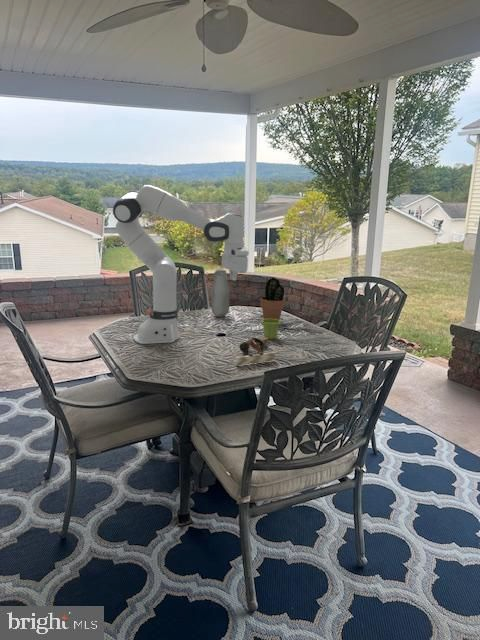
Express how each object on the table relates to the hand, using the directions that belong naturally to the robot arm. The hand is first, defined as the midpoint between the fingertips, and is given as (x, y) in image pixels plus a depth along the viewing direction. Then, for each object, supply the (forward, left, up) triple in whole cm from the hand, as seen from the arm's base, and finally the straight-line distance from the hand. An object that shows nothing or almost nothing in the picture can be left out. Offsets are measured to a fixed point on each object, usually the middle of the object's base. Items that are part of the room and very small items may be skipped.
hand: (233, 280), depth 209 cm
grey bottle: (+16, +50, -31) cm, 61 cm away
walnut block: (+12, -8, -31) cm, 34 cm away
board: (-2, -28, -31) cm, 42 cm away
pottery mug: (+2, -16, -31) cm, 35 cm away
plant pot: (+23, +3, -31) cm, 39 cm away
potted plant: (+40, +31, -31) cm, 60 cm away
